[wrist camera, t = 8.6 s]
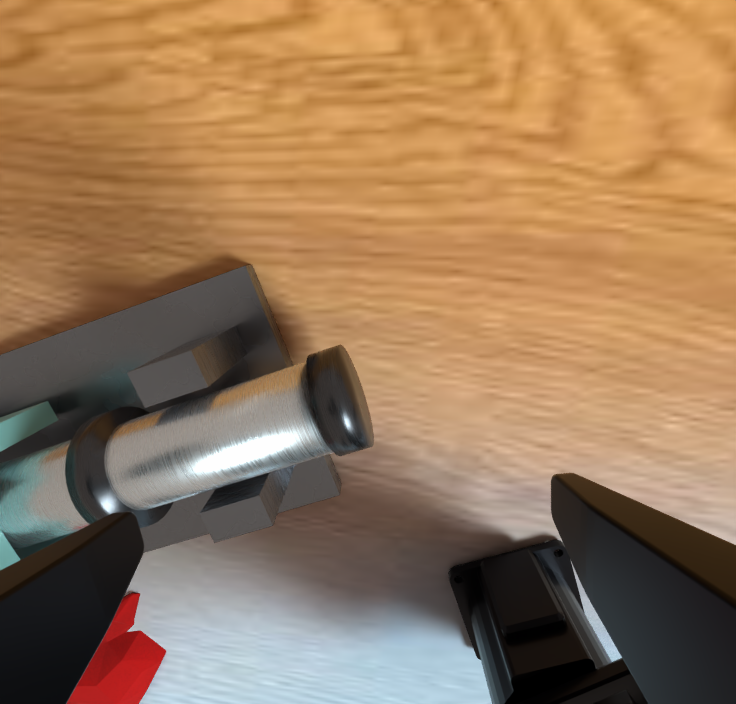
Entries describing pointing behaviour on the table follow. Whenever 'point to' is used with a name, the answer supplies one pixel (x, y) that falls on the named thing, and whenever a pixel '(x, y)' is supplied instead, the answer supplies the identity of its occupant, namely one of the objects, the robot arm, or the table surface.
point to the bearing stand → (168, 391)
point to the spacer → (8, 433)
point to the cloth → (120, 662)
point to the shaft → (185, 449)
